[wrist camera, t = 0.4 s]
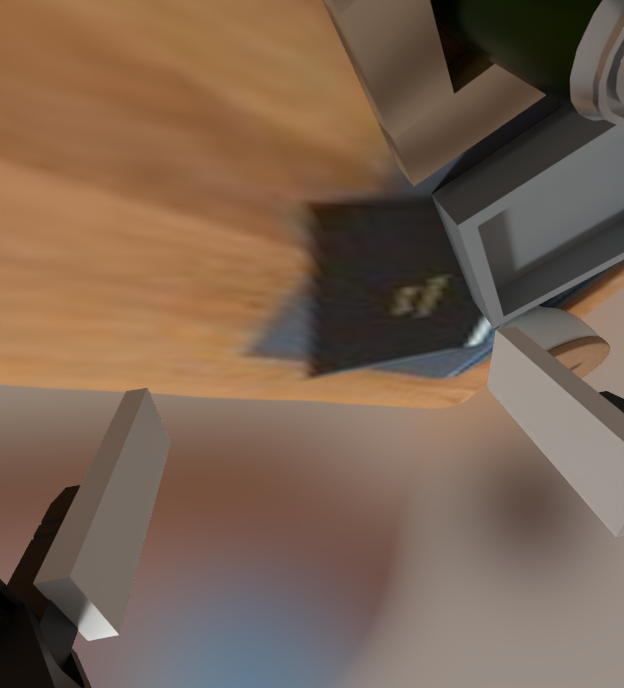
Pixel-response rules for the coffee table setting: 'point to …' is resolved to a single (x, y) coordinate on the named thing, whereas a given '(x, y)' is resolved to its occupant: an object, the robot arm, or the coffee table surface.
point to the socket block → (424, 83)
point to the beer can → (549, 47)
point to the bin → (538, 213)
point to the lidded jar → (563, 337)
